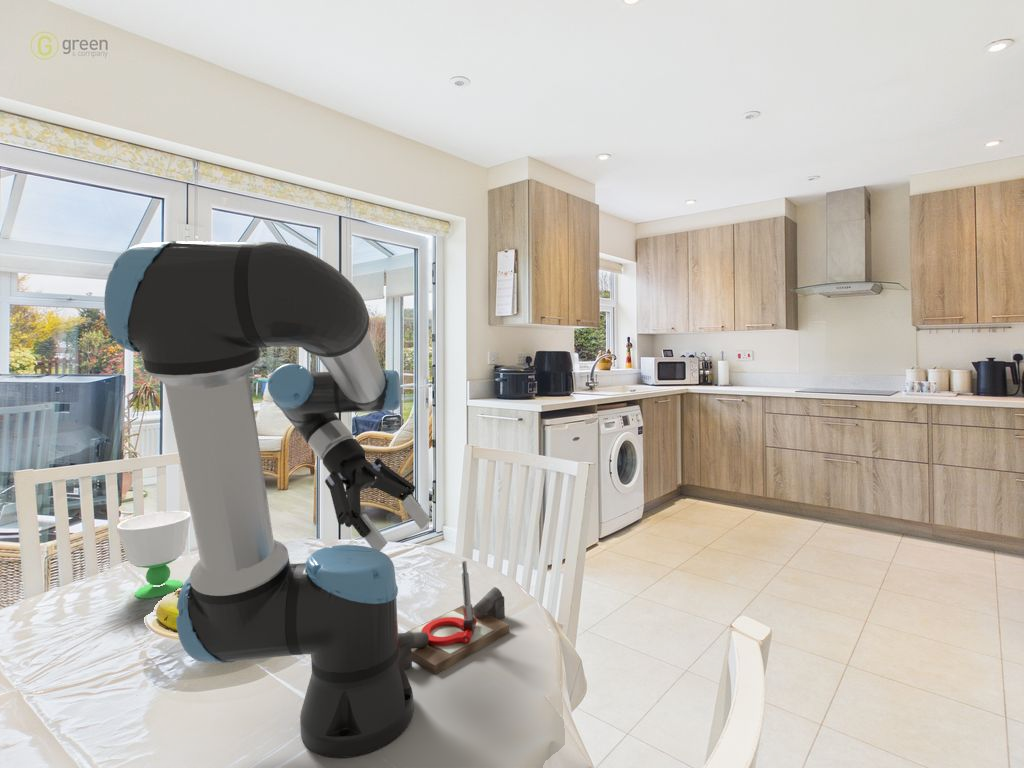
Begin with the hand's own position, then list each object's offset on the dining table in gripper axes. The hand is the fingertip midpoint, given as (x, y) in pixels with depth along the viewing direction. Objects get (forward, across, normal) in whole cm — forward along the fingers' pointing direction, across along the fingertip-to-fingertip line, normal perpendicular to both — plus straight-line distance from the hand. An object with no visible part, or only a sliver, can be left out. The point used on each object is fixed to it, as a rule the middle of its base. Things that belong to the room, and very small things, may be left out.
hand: (405, 535), depth 98 cm
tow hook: (+18, +2, -5) cm, 19 cm away
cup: (-31, +6, -57) cm, 65 cm away
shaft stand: (+19, 0, -6) cm, 20 cm away
